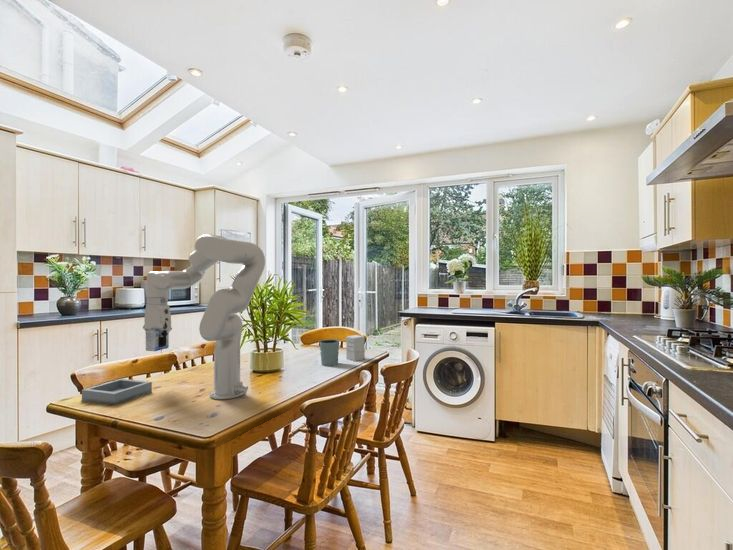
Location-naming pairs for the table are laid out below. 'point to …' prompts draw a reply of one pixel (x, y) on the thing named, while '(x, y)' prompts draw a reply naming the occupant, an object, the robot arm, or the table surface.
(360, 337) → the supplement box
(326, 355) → the grey-green bucket
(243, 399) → the table surface
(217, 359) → the robot arm
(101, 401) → the tray
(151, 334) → the medicine box
